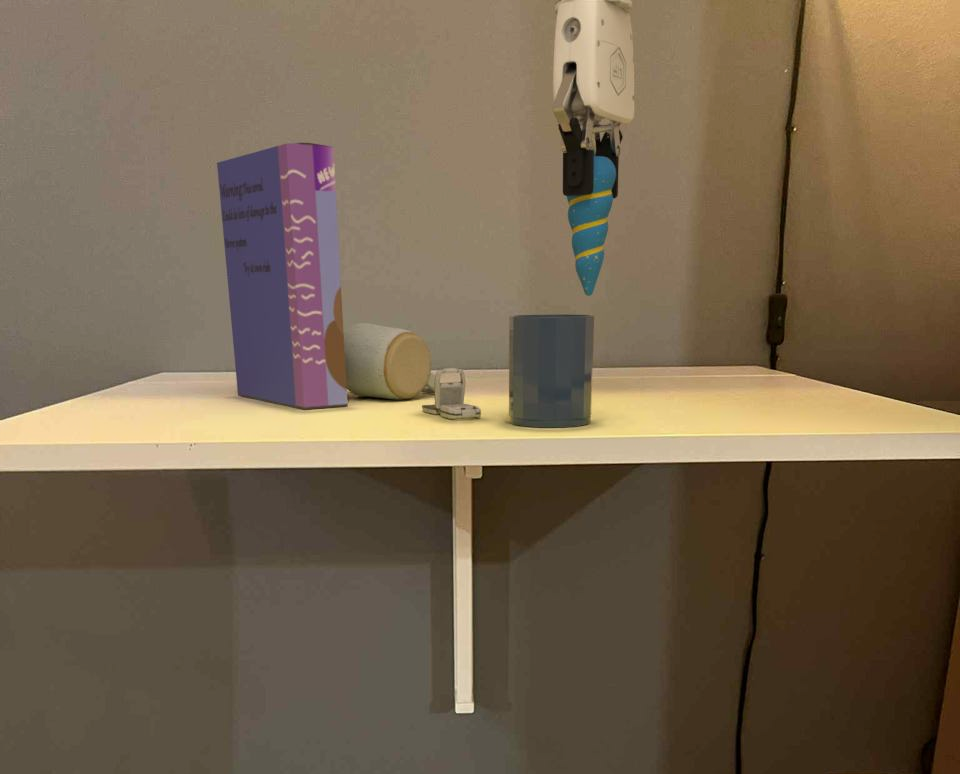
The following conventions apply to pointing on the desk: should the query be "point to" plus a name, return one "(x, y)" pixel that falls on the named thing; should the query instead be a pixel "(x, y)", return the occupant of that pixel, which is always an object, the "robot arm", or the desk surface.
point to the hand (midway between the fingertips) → (590, 195)
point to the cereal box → (285, 275)
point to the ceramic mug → (386, 362)
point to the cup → (550, 370)
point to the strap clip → (451, 398)
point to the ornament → (592, 222)
